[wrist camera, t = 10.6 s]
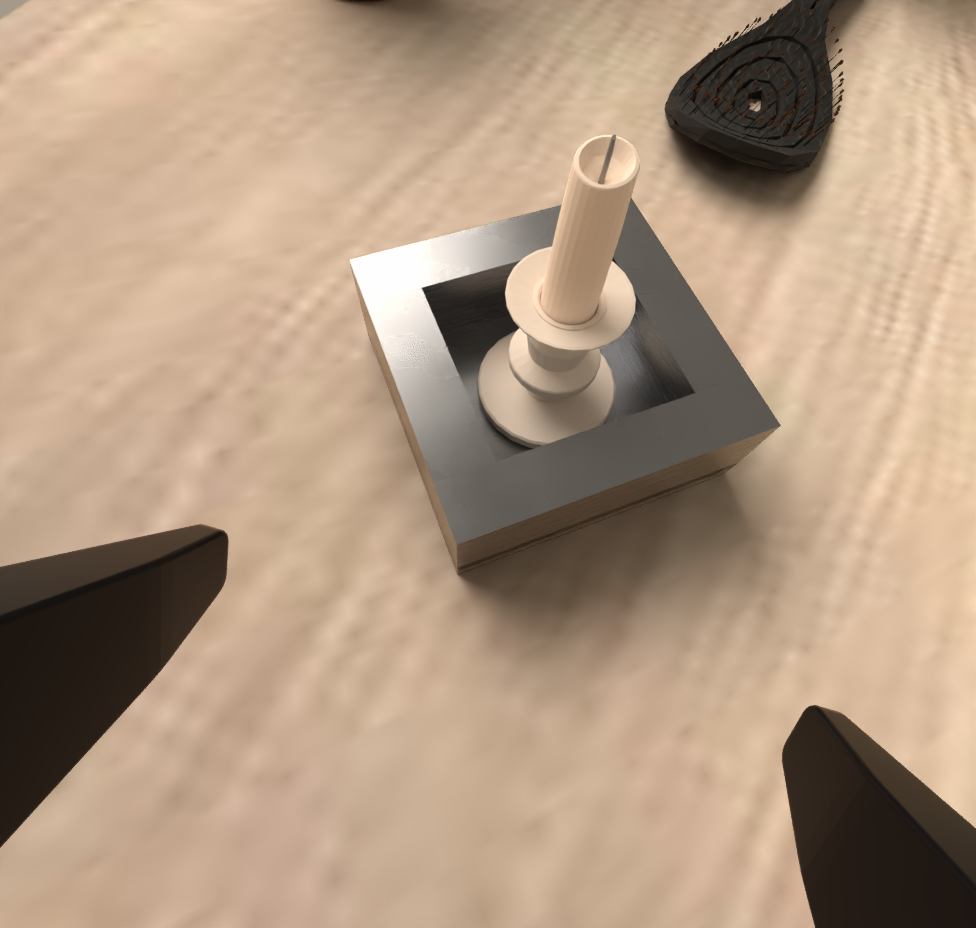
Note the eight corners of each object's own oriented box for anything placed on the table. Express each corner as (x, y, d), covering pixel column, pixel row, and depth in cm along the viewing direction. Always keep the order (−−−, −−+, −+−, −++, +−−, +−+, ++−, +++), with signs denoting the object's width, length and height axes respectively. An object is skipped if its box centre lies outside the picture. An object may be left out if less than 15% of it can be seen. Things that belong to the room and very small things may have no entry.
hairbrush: (933, -67, 33) (828, 153, 23) (889, 5, 37) (781, 225, 27) (802, -108, 35) (649, 82, 25) (771, -36, 38) (625, 159, 28)
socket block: (725, 473, 21) (780, 425, 18) (457, 574, 19) (456, 544, 16) (601, 263, 25) (625, 188, 21) (367, 329, 23) (349, 259, 19)
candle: (573, 476, 20) (677, 267, 10) (451, 407, 21) (443, 156, 11) (634, 372, 22) (771, 115, 12) (520, 313, 23) (564, 29, 13)
